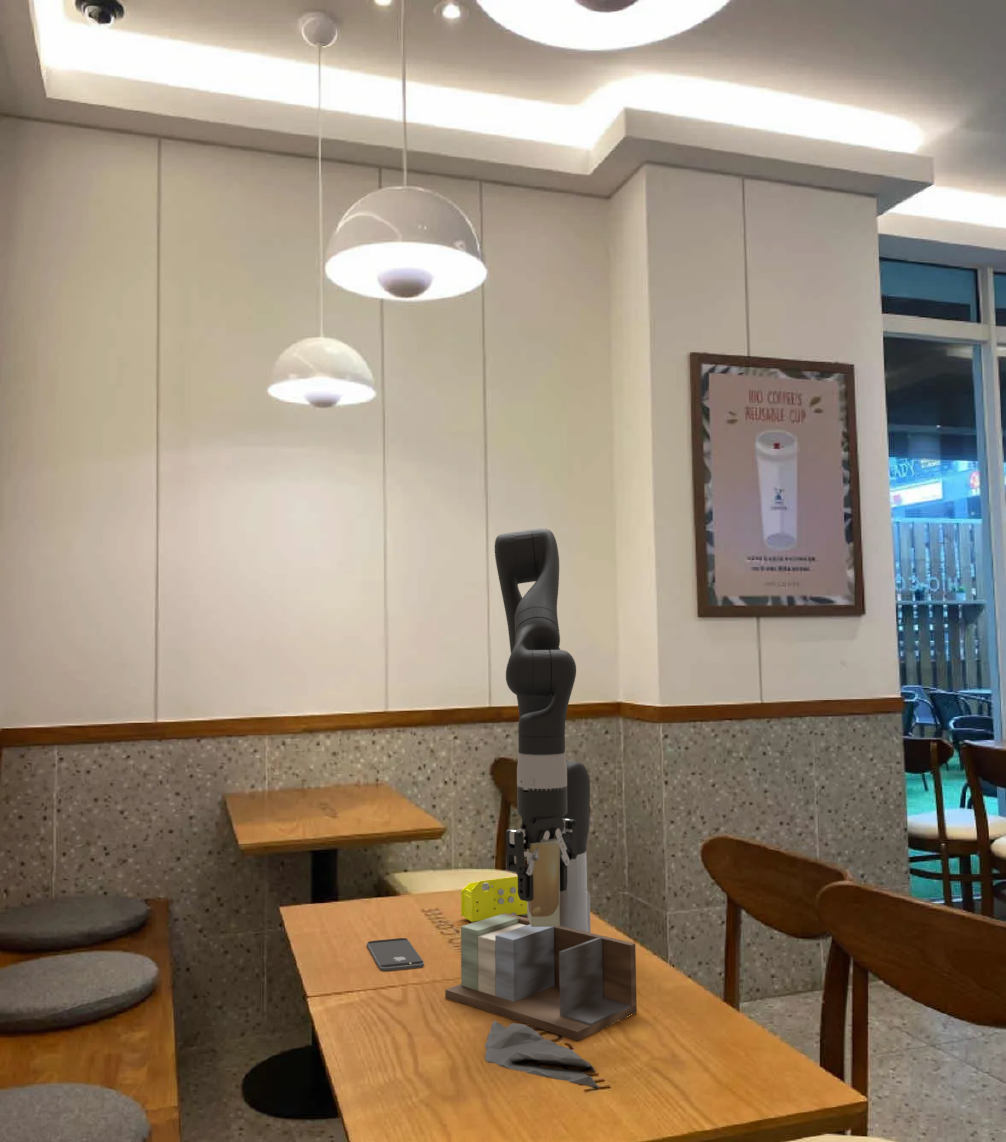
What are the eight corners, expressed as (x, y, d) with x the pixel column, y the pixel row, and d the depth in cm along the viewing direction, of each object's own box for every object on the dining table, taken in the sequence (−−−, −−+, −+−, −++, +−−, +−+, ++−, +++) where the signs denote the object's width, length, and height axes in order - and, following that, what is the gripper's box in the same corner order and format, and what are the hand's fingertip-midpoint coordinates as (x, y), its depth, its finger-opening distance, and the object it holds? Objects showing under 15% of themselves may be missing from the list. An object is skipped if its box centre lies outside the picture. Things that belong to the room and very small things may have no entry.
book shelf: (506, 975, 167) (505, 911, 167) (636, 1012, 149) (635, 942, 150) (445, 997, 156) (445, 930, 157) (577, 1041, 139) (576, 964, 140)
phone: (365, 946, 184) (380, 974, 169) (365, 941, 184) (380, 968, 169) (406, 942, 187) (425, 969, 171) (406, 937, 187) (425, 963, 171)
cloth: (456, 1030, 145) (456, 1013, 145) (546, 1018, 150) (546, 1002, 150) (516, 1108, 121) (516, 1088, 121) (621, 1090, 125) (621, 1071, 125)
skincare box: (526, 916, 153) (526, 834, 154) (555, 915, 154) (554, 833, 155) (531, 928, 147) (530, 842, 148) (560, 927, 147) (559, 842, 148)
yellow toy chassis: (473, 926, 196) (472, 882, 197) (460, 919, 201) (460, 877, 202) (544, 916, 203) (544, 873, 204) (530, 909, 208) (530, 868, 209)
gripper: (553, 776, 160) (554, 883, 158) (491, 786, 149) (491, 900, 148) (591, 780, 155) (592, 890, 153) (529, 790, 144) (530, 909, 143)
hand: (543, 895), depth 151 cm, fingers closed on skincare box, 7 cm apart
